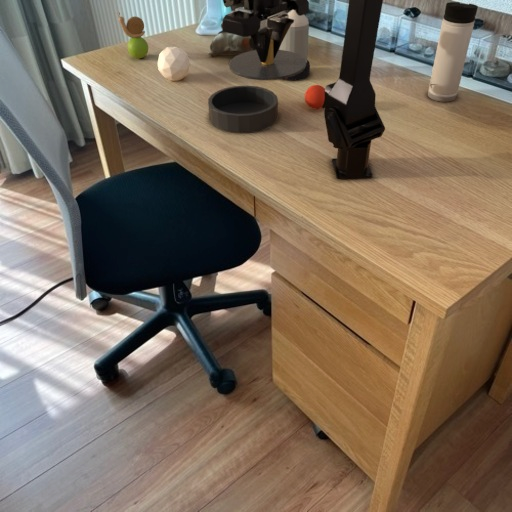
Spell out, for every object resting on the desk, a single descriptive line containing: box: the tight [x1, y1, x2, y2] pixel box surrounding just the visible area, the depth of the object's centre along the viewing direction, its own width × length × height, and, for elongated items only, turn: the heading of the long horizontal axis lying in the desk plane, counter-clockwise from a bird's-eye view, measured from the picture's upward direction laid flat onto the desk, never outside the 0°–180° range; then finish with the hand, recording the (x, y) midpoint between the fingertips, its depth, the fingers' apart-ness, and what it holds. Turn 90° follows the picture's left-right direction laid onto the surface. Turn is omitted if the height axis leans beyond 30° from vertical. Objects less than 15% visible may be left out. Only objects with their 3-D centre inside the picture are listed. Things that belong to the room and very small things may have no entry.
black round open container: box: [207, 85, 279, 134], centre depth 112 cm, size 15×15×4 cm
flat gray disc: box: [228, 39, 306, 81], centre depth 104 cm, size 15×15×5 cm
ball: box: [304, 84, 326, 110], centre depth 115 cm, size 5×5×5 cm
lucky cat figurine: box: [206, 7, 256, 57], centre depth 137 cm, size 15×12×14 cm
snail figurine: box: [116, 11, 149, 59], centre depth 137 cm, size 5×6×12 cm
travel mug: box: [427, 1, 479, 103], centre depth 113 cm, size 6×7×20 cm
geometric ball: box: [156, 46, 191, 82], centre depth 127 cm, size 8×8×8 cm
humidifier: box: [279, 10, 311, 82], centre depth 123 cm, size 8×8×25 cm
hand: (267, 60), depth 104 cm, fingers closed on flat gray disc, 2 cm apart
